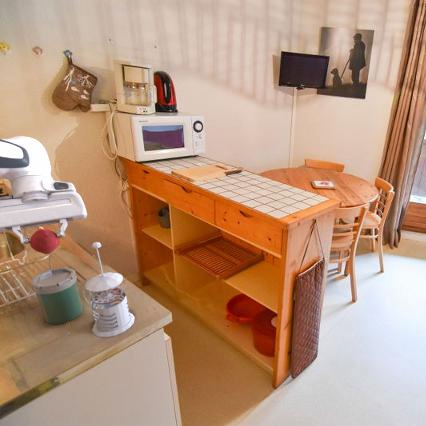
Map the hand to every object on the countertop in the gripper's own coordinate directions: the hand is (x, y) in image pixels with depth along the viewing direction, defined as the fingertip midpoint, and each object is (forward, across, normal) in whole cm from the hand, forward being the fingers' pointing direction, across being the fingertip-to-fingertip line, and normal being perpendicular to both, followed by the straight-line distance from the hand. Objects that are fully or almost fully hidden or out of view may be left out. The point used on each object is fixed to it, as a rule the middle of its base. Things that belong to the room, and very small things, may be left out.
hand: (44, 240), depth 82 cm
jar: (+18, 0, +13) cm, 22 cm away
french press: (+25, +10, +5) cm, 28 cm away
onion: (+3, 0, +4) cm, 5 cm away
